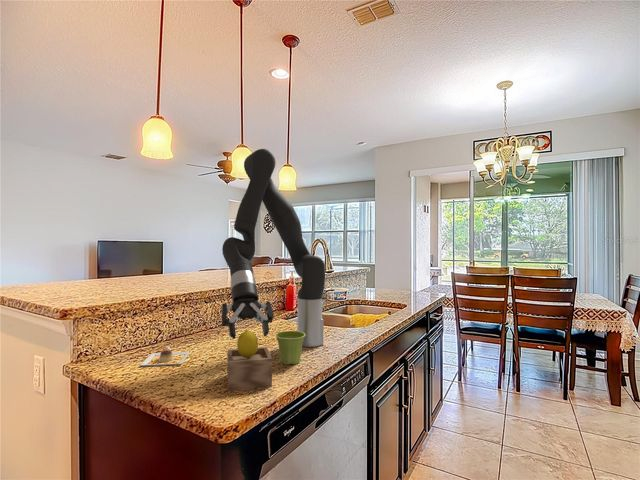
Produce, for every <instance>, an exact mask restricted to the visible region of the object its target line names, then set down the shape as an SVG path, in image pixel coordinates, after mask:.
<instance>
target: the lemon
mask: <svg viewBox="0 0 640 480" xmlns="http://www.w3.org/2000/svg"><path fill="white" fill-rule="evenodd" d="M236 346H237V348H236V349H238V352H239V353H240V355H241V356H243V357H246V358H247V359H250V358H251V357H252V356H253V355H254V354H255V353H256V352H257V349H258V348H259V347H258V346H259V342H258V338H257V336H256V334H255V333H254V332H253V331H251V330H248V329H246V330H244V331H243V332H241V333H240V334H239V335H238V337H237V343H236Z"/></svg>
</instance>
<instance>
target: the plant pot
mask: <svg viewBox="0 0 640 480" xmlns="http://www.w3.org/2000/svg"><path fill="white" fill-rule="evenodd" d="M304 337H305V333H303V332H298V331H297V330H287V331H280V332H277V333H276V334H275V338H276V341H277V343H278V350H279V351H278V352H279V358H280V360H279V361H280V362H281V364H283V365H298V364H299V363H300V361H301V357H302V356H301V355H302V349H303V346H302V343H303V340H304Z"/></svg>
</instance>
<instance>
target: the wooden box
mask: <svg viewBox="0 0 640 480" xmlns="http://www.w3.org/2000/svg"><path fill="white" fill-rule="evenodd" d="M226 369H227V373H226V376H227V388H228V389H227V390H228V391H229V392H231V391H243V390H251V389H258V388H259V389H260V388H269V387H273V357H272V355H271V353H270V351H269V349H268V347H267V346H262V347H258V349H257V352H256V353H255V354H254V355H253V356H252V357H251V358H250V359H247V358H246V357H243V356H241V355H240V353H239V352H238V348H236V349H234V348H231V349H227V367H226Z"/></svg>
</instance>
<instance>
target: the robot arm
mask: <svg viewBox="0 0 640 480" xmlns="http://www.w3.org/2000/svg"><path fill="white" fill-rule="evenodd" d="M276 164H277V163H276V157H275V156H274V154H273V153H272V152H271V151H270V150H269V149H268V148H260V149H257V150H255V151H253V152H252V153H250V154H249V155H248V156H247V157H245V159H244V162H243V167H244V171H245V172H244V173H245V174H246V175H247V177H248V179H249V183H248V186H247V188H246V190H245V192H244V195H243V197H242V199H241V201H240V204H239V206H238V209H237V213H236V216H235V220H234V225H233V229H234V231H236V232H237V233H239V234H240V235H241V236H242V238H243V239H240V238H238V237H237V238H236V237H233V236H231V237H230V236H229V237H228V238H226V239H225V240H224V242H223V244H222V256H223V258H224V260H225V263H226V265H227V266H228V268H229V272H230V291H231V292H230V294H231V301H232V304H230V305H229V304H227V303H225V302H223V303H222V306H221V326H222V327H226V326H227V327H228V332H229V338H231V339H232V340H235V339H236V338H237V337H236V334H237V333H236V332H237V331H236V326H235V325H236V323H238V321H239V320H240V319H241V320H246V319H249V320H252V319H255V320H256V322H260V323H261V327H262V334H263V337H267V335H269V333H270V332H269V331H270V327H269V324H271V323H273V320H274V317H275V316H274V312H273V308H272V303H271V301H270V300H267V301H266V302H264V303H261V302H260V301H259V295H258V289H257V288H258V287H257V283H256V278H255V275H254V268H253V264H252V262H251V261H252V260H253V258H254V257H255V253H256V241H255V240H256V235H255V234H256V227H257V222H258V218H259V213H260V209H261V205H262V203H263V205H264V207H265V209H266V211H267V212H268V215H269V217H270V219H271V221H272V224H273V226H274V227H275V229H276V231H277V233H278V235H279V237H280V239H281V241H282V242H283V244H284V246H285V248H286V250H287V252H288V254H289V256H290V260H291V263H292V265H293V268H294V271H295V273H296V274H297V275H298V277H299V278H301V287H300V289H298V291H297V324H296V325H297V326H296V327H297V330H296V331H298V332H303V333H305V337H304V340H303V343H302V348H303V347H304V348H305V347H306V348H316V347H319V346H323V345H324V326H325V325H324V321H325V319H324V318H323V293H324V290H325V281H326V280H325V279H326V266H325V265H326V264H325V262H324V261H323V259H322V258H321V257H320V256H317V255H312V254H311V253H310V251H309V250H308V247H307V246H306V243H305V241H304V239H303V231H302V225H301V221H300V218H299V216H298V214H297V212H296V210H295V208H294V206H293V205H292V202H290V200H289V199H288V198H287V197H286V196H285V195H284V193H282V192H280V190H279V189H278V188H277V187H276V185H275V183H274V181H273V179H272V175H273V173H274V170H275V168H276ZM261 309H262V310H263V311H264V312H265V313H266V315H265V313H264V312H263V311H262V310H261ZM230 311H231V312H233V314H232V317H230V319H229V318H228V314H229V313H230Z"/></svg>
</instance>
